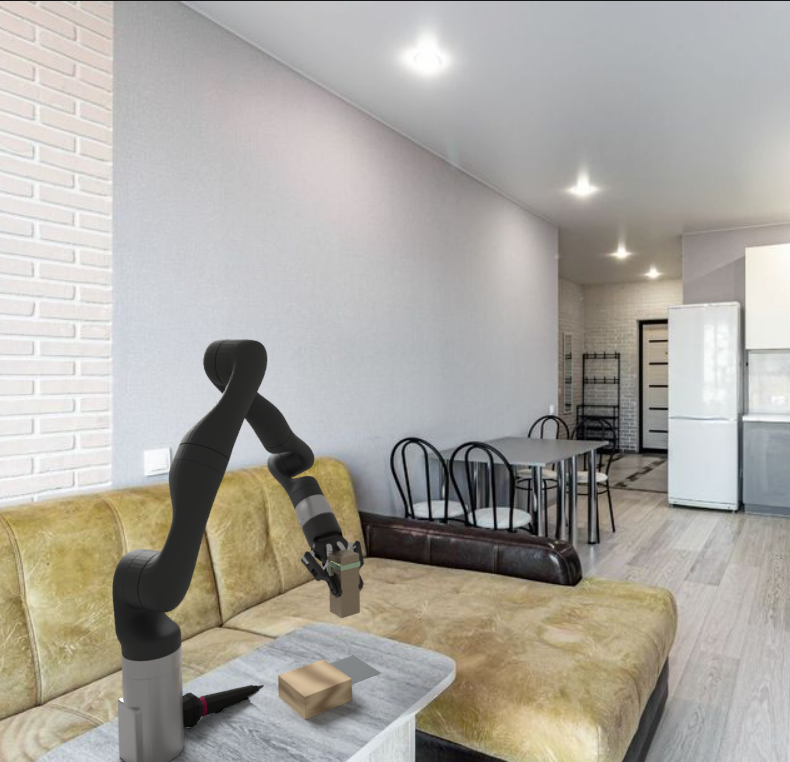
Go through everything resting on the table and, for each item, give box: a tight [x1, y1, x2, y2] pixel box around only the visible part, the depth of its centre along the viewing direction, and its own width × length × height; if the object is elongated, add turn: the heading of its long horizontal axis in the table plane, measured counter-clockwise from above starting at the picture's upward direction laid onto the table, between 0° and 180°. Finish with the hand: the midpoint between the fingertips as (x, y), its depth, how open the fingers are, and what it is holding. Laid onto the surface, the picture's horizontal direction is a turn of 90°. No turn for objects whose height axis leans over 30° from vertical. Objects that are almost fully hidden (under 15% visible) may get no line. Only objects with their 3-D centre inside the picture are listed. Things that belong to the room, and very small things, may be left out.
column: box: [329, 549, 361, 619], centre depth 127 cm, size 5×5×12 cm
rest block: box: [277, 659, 353, 720], centre depth 118 cm, size 10×10×5 cm
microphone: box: [183, 684, 265, 729], centre depth 117 cm, size 6×6×20 cm
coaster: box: [329, 654, 382, 685], centre depth 128 cm, size 10×10×1 cm
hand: (349, 592), depth 126 cm, fingers closed on column, 4 cm apart
